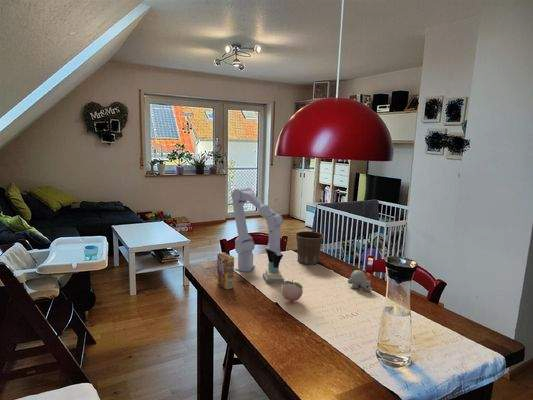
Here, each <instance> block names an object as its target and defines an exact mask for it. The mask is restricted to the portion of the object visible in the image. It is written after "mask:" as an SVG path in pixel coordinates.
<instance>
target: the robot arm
mask: <svg viewBox="0 0 533 400" xmlns="http://www.w3.org/2000/svg"><path fill="white" fill-rule="evenodd" d="M231 198H232V199H231V201H232V207H233V213H234V219H235V226H236V230H237V237H236V238H235V240H234V242H235V244H234V245H235V246H234V248H235V252H236V254H237V267H234V271H235V270H236V271H240V272H241V271H242V272H248V273H249V272H250V271H251V270H252V269H254V267H255V264H254V253H253V251H254V249H255V242H254V240H253V237H252V236H251V235H250V234H249V231H248V226H247V219H246V215H245V208H244V205H245V204H246V203H247V202H249V204H251V205H253V206H254V207H255V208H256V209H257V210H258V213H259V215H260V216H261V217H262V218H263V219H264V220H265V222H266V225H267V230H268V243H267V246H266V247H265V249H264V250H265V252H266V254H267V258H268V263H270V262H273V266H274V268H278V267H279V268H280V263H281V260H282V258H283V256H284V254H283V253H282V251H281V226H282V225H283V223H284V218H283V216H282V214H280V213H277V212H276V211H274V210H273V209H272V208H271V207H270V205H268V204H264V203H263V202H261V200H260V199H259V198H258V197H257V196H256V195H255V192H254V190H253V189H251V187H249V186H247V187H243V188H235V189H233V191H232V192H231Z"/></svg>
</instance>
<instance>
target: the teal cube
mask: <svg viewBox="0 0 533 400" xmlns="http://www.w3.org/2000/svg"><path fill="white" fill-rule="evenodd" d="M267 266H268V267H267V269H268V270H269V271H270V272H271V273H275V272H279V270H280V266H279V267H278V268H274V266H273V262H268V265H267Z"/></svg>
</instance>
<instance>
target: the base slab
mask: <svg viewBox="0 0 533 400" xmlns="http://www.w3.org/2000/svg"><path fill="white" fill-rule="evenodd" d="M262 278H263V280H264V282H265V284H270V285H271V284H281V283H282V284H284V283H283V282H284V281H285V278H284V276H283V275H282V274H281V279H267V277H266V272H262Z"/></svg>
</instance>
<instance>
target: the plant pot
mask: <svg viewBox="0 0 533 400" xmlns="http://www.w3.org/2000/svg"><path fill="white" fill-rule="evenodd" d="M295 237H296V238H295V239H296V245H297V246H296V247H297V261H298V263H300V264H304V265H306V264H307V265H308V266H309V265H311V266H314V265H316V264H318V263H319V261H320V255H321V247H322V243H323V240H324V239H323V238H324V237H325V235H324V234H323V233H320V232H316V231H310V230H309V231H307V230H306V231H303V230H302V231H297V232H296V233H295Z"/></svg>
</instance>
